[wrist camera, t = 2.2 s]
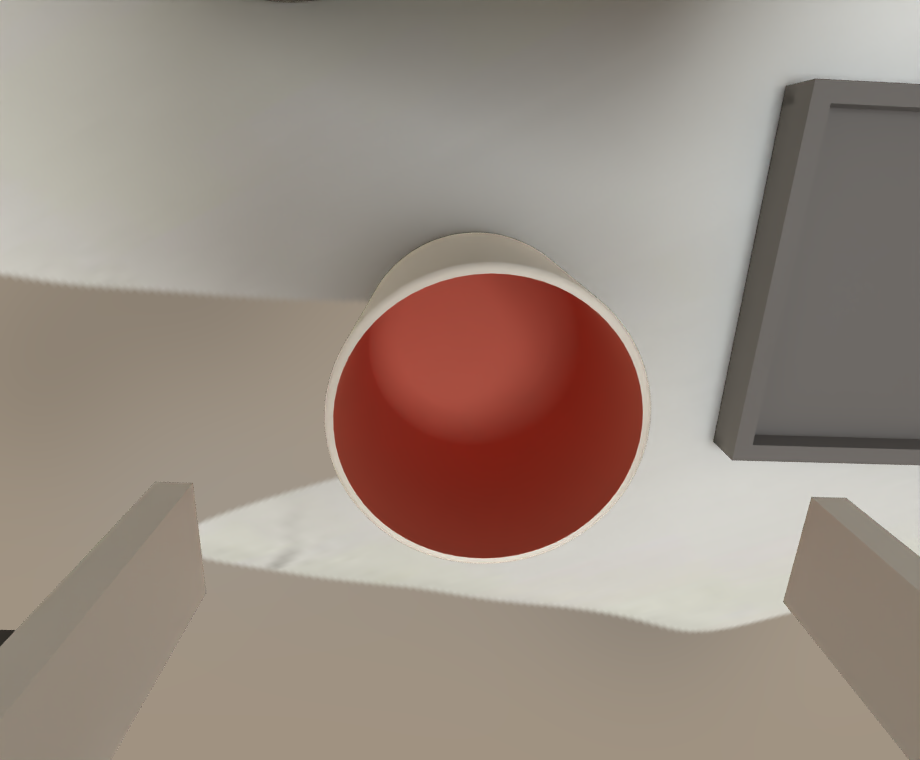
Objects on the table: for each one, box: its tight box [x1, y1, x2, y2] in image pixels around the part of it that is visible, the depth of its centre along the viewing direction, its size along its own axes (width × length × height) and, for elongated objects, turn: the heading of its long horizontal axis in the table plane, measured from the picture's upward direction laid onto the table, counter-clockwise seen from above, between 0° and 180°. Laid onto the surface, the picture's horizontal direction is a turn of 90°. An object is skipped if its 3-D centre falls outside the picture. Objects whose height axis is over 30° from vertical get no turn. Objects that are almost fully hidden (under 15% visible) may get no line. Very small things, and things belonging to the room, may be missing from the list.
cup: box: [324, 232, 651, 563], centre depth 23 cm, size 10×10×10 cm
